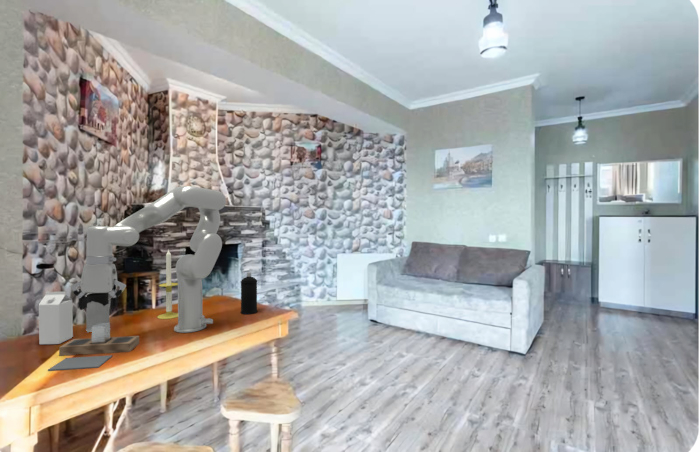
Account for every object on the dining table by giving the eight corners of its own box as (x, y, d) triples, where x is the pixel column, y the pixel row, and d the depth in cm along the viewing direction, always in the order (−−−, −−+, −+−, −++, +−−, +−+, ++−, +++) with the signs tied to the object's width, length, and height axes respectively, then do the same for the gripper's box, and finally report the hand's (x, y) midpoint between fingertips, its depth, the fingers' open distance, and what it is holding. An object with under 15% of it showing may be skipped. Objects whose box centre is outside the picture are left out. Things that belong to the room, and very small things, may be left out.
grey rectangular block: (110, 347, 127) (109, 322, 127) (104, 351, 123) (104, 326, 123) (97, 347, 126) (97, 323, 126) (91, 352, 122) (91, 326, 122)
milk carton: (53, 338, 136) (52, 290, 136) (73, 337, 137) (72, 289, 136) (39, 344, 129) (38, 294, 128) (59, 344, 130) (58, 293, 129)
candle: (154, 319, 161) (153, 249, 160) (160, 314, 171) (160, 248, 170) (177, 318, 163) (177, 249, 162) (182, 312, 173) (182, 247, 172)
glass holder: (80, 333, 142) (79, 296, 142) (99, 322, 156) (99, 289, 156) (103, 332, 144) (103, 295, 143) (120, 321, 158) (120, 288, 157)
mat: (112, 356, 119) (112, 355, 119) (98, 367, 110) (98, 366, 110) (66, 359, 116) (66, 358, 116) (47, 370, 107) (47, 369, 107)
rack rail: (139, 343, 131) (139, 335, 131) (129, 351, 123) (129, 343, 123) (73, 347, 127) (73, 338, 127) (59, 355, 119) (59, 346, 119)
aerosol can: (254, 314, 170) (254, 274, 170) (238, 314, 170) (238, 273, 170) (259, 310, 179) (259, 271, 178) (243, 310, 179) (243, 271, 178)
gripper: (130, 259, 129) (129, 305, 129) (78, 259, 126) (77, 306, 126) (121, 261, 122) (120, 310, 122) (65, 261, 119) (64, 311, 119)
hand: (98, 308), depth 124 cm, fingers open, 9 cm apart
